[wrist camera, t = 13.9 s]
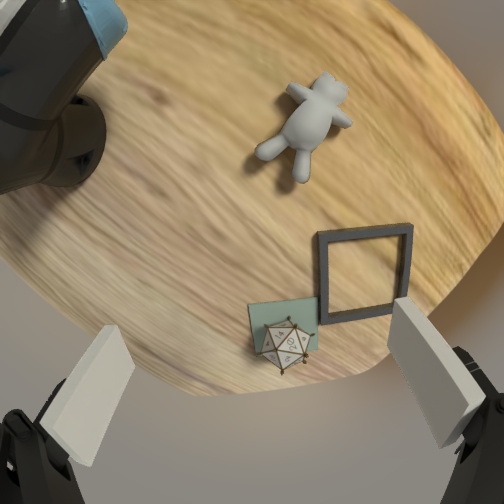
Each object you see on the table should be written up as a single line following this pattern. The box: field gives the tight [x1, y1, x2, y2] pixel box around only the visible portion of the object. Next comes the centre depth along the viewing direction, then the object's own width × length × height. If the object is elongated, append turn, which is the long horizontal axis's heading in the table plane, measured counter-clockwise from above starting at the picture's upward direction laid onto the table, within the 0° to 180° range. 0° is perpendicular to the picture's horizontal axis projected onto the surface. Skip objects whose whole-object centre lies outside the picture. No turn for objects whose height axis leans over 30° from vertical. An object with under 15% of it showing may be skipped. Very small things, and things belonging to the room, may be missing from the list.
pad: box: [248, 297, 318, 357], centre depth 46 cm, size 11×11×1 cm
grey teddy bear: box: [254, 71, 353, 184], centre depth 33 cm, size 9×5×15 cm
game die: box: [256, 315, 315, 375], centre depth 42 cm, size 9×8×10 cm
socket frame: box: [317, 223, 414, 325], centre depth 42 cm, size 15×15×2 cm
